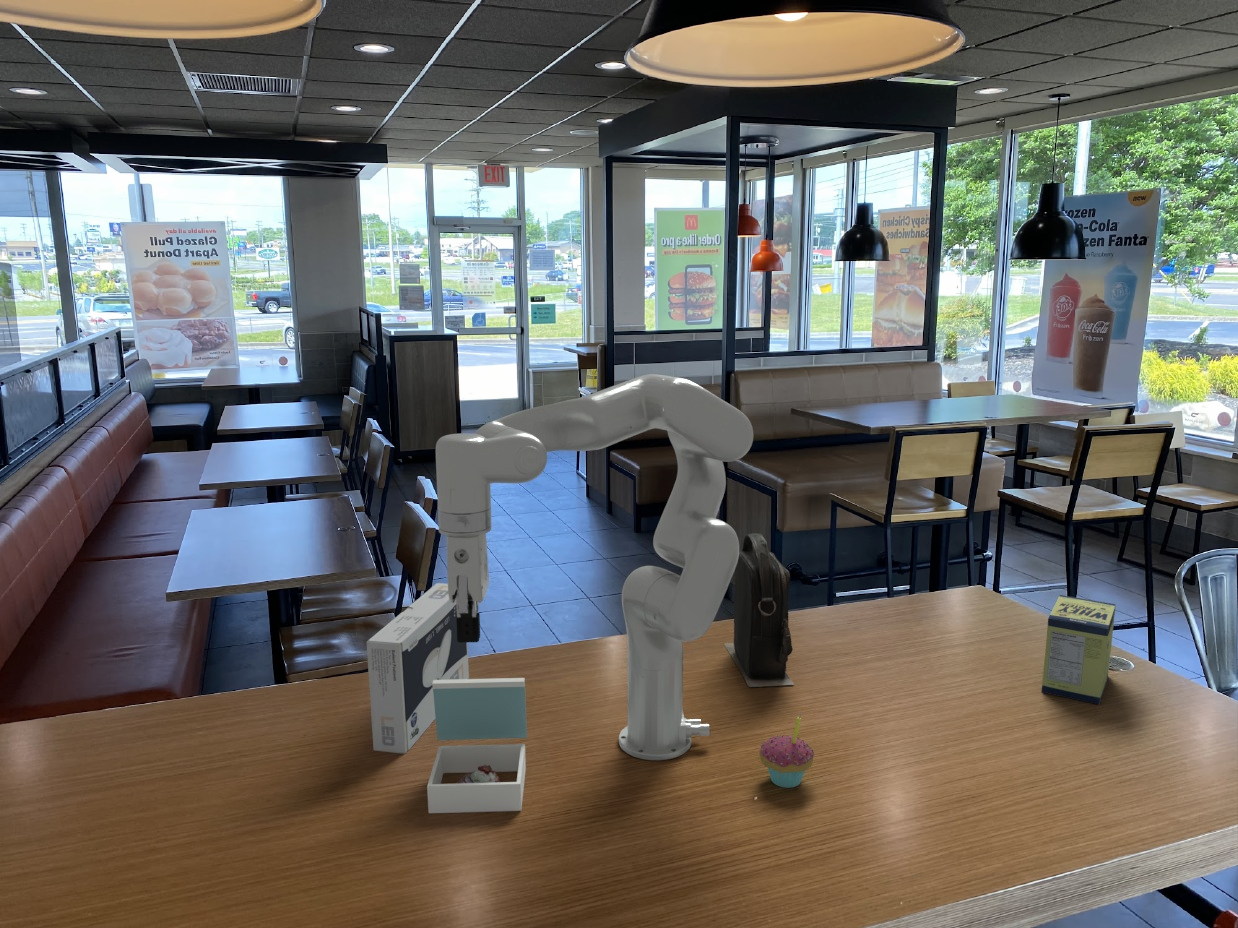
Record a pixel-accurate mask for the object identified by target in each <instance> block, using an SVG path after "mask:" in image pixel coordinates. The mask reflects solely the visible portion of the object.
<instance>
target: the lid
mask: <svg viewBox="0 0 1238 928" xmlns="http://www.w3.org/2000/svg"><path fill="white" fill-rule="evenodd" d="M525 680H526V679H525V677H511V678H510V677H509V678H508V677H504V678H503V677H500V678H498V677H497V678H469V679H451V680H433V683H432V686H433V694H434V706H435V717H436V718H435V725H436V726H435V728H436V736H437V737H436V739H437V741H461V740H463V741H465V740H495V739H496V740H500V739H501V740H504V739H505V740H507V739H527V738H528V727H527V724H528V723H527V704H526V701H527V700H526V699H527V698H526V681H525Z"/></svg>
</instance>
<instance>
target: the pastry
mask: <svg viewBox="0 0 1238 928" xmlns="http://www.w3.org/2000/svg"><path fill="white" fill-rule="evenodd" d="M499 778H500V777H499V774H496V772H495V771H494V770H492V768H491V767H490V765H488V766H486V765H483V766H479V767H478V770H477V771H474V772H468V773H466V774H465V775H463V776H462V777H461V778H459V780H458V782H457V783H494V782H501V781H500V779H499Z"/></svg>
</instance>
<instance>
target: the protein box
mask: <svg viewBox="0 0 1238 928" xmlns="http://www.w3.org/2000/svg"><path fill="white" fill-rule="evenodd" d="M1116 605H1117V604H1116V603H1109V602H1105V601H1097V600H1092V599H1087V598H1082V597H1080V598H1079V597H1075V596H1069V595H1063V594H1059V596H1058V598H1057V600H1056V602H1055V604H1054V606H1053V608H1052V610H1051V612H1050V614H1049V615H1048V617H1047V618H1048V619H1047V630H1046V641H1045V651H1044V652H1045V653H1044V662H1043V672H1042V684H1041V693H1043V694H1044V693H1045V694H1048V695H1054V696H1058V697H1061V698H1068V699H1072V700H1077V701H1080V702H1085V703H1090V704H1091V703H1092V704H1094V705H1098V706H1099V705H1100V704H1101V702H1102V698H1103V696H1104V692H1105V689H1106V684H1107V681H1108V678H1109V670H1110V662H1111V660H1110V659H1111V651H1112V642H1113V635H1114V634H1113V633H1114V632H1113V631H1114V624H1115V615H1116Z"/></svg>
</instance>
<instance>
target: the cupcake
mask: <svg viewBox="0 0 1238 928" xmlns="http://www.w3.org/2000/svg"><path fill="white" fill-rule="evenodd" d="M801 716H802V713H800V714H799V716H798V717H796V720H795V724H794V730H793V735H789V734H787V735H777V736H773V737H770V738H768V739H766V740H764V742H763V743H762V744H761V745H760V748H759V751H758V752H759V753H758V754H759V757H760V762H761V764H763V765H764V766H765V767H766V768H767V770H768V774H769V777H770V780H771V782H772V783H773V784H774V785H776V786H778V787H780V788H785V789H788V788H795V787H797V786H799V785H800V784H801V783H802V779H803V777H804V774H805V772H806V771H808V770H809V768H812V766H813V762H814V756H815V755H814V754H815V751H814V750H813V749H812V747H810V746H809V744H808V743H807V742H805V741H804V740H803V739H801V738H800V737H798V735H799V730H800V724H801V721H802V718H801Z"/></svg>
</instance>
